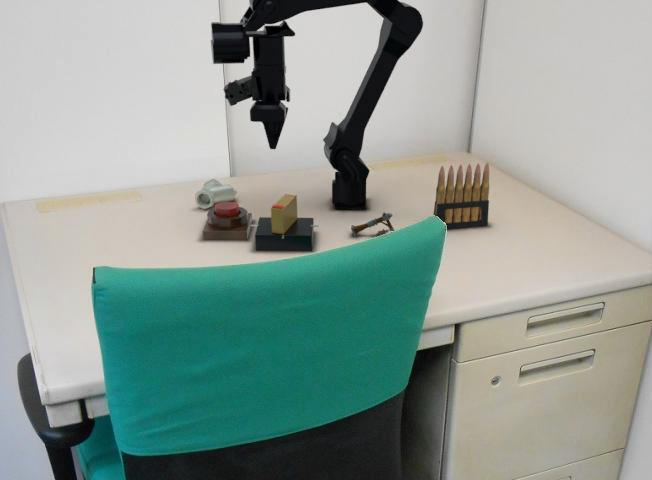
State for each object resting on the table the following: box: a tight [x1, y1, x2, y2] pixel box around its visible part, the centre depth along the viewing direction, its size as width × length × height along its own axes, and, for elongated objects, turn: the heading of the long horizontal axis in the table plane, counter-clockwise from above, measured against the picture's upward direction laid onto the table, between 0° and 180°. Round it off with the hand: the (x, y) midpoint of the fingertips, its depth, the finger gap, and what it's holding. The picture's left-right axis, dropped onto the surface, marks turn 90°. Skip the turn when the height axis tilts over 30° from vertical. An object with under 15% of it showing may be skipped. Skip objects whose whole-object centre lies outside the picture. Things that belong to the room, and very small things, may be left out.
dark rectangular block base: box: [251, 216, 319, 252], centre depth 152 cm, size 12×12×3 cm
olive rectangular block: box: [270, 193, 298, 234], centre depth 150 cm, size 8×2×5 cm, turn 166°
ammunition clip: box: [433, 162, 490, 230], centre depth 157 cm, size 11×2×12 cm, turn 104°
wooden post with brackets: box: [350, 212, 395, 238], centre depth 155 cm, size 2×8×4 cm, turn 86°
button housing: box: [202, 206, 253, 241], centre depth 156 cm, size 8×10×4 cm
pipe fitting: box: [194, 178, 238, 210], centre depth 169 cm, size 8×4×7 cm
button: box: [214, 201, 240, 217], centre depth 155 cm, size 4×4×2 cm
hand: (273, 148), depth 161 cm, fingers closed
